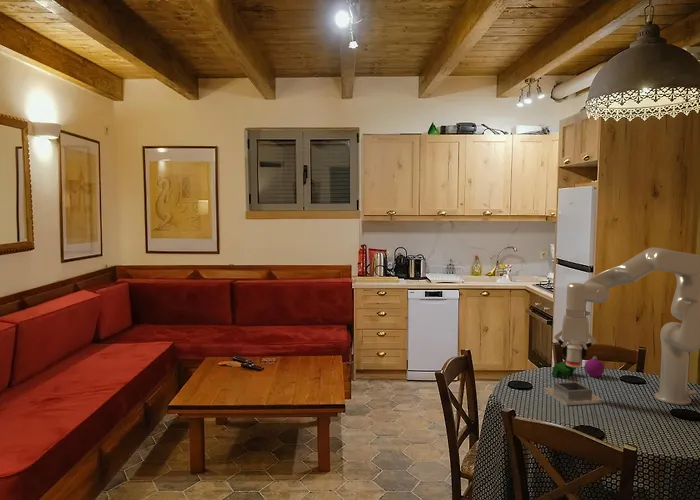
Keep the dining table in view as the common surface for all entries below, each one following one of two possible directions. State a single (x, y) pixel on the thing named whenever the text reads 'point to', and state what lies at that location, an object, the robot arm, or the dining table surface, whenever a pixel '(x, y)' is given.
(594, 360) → the christmas ornament
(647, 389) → the dining table surface
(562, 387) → the docking plate
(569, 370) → the green lumpy block
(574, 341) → the pill bottle
